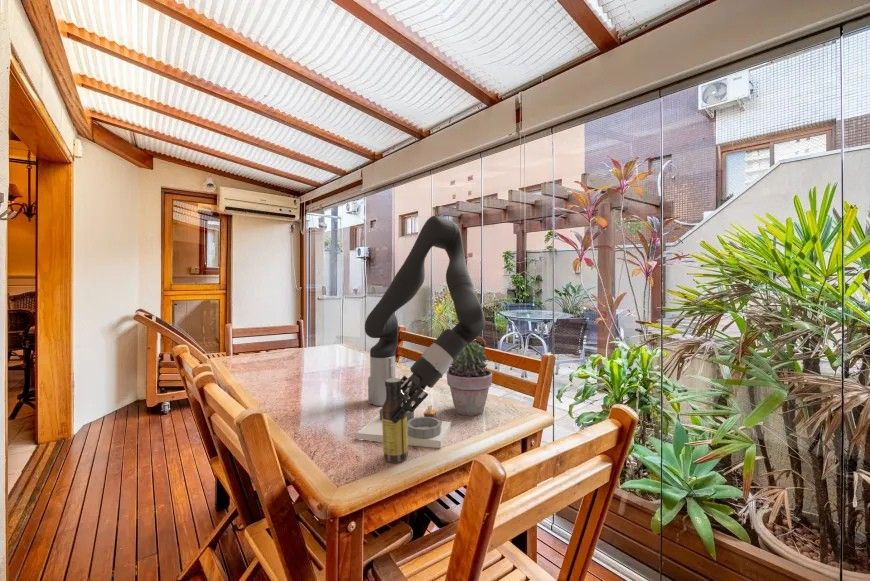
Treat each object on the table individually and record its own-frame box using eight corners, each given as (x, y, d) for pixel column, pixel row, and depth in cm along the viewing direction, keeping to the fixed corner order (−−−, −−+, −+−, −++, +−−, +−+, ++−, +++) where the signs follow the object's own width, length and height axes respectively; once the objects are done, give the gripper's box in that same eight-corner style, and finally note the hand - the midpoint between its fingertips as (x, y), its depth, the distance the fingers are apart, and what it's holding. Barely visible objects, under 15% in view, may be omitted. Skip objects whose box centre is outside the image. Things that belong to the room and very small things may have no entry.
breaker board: (357, 440, 106) (357, 414, 106) (376, 422, 120) (376, 399, 120) (440, 448, 101) (440, 421, 100) (450, 428, 114) (450, 404, 114)
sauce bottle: (398, 450, 100) (398, 375, 99) (412, 458, 95) (412, 379, 94) (377, 457, 95) (377, 379, 95) (391, 466, 91) (390, 384, 90)
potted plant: (433, 417, 123) (432, 341, 123) (452, 400, 142) (452, 333, 141) (487, 425, 117) (487, 344, 116) (500, 405, 135) (500, 336, 134)
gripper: (413, 351, 104) (370, 399, 100) (433, 360, 91) (385, 416, 86) (431, 368, 106) (390, 416, 102) (453, 380, 93) (407, 436, 89)
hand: (388, 416), depth 94 cm, fingers closed on sauce bottle, 6 cm apart
